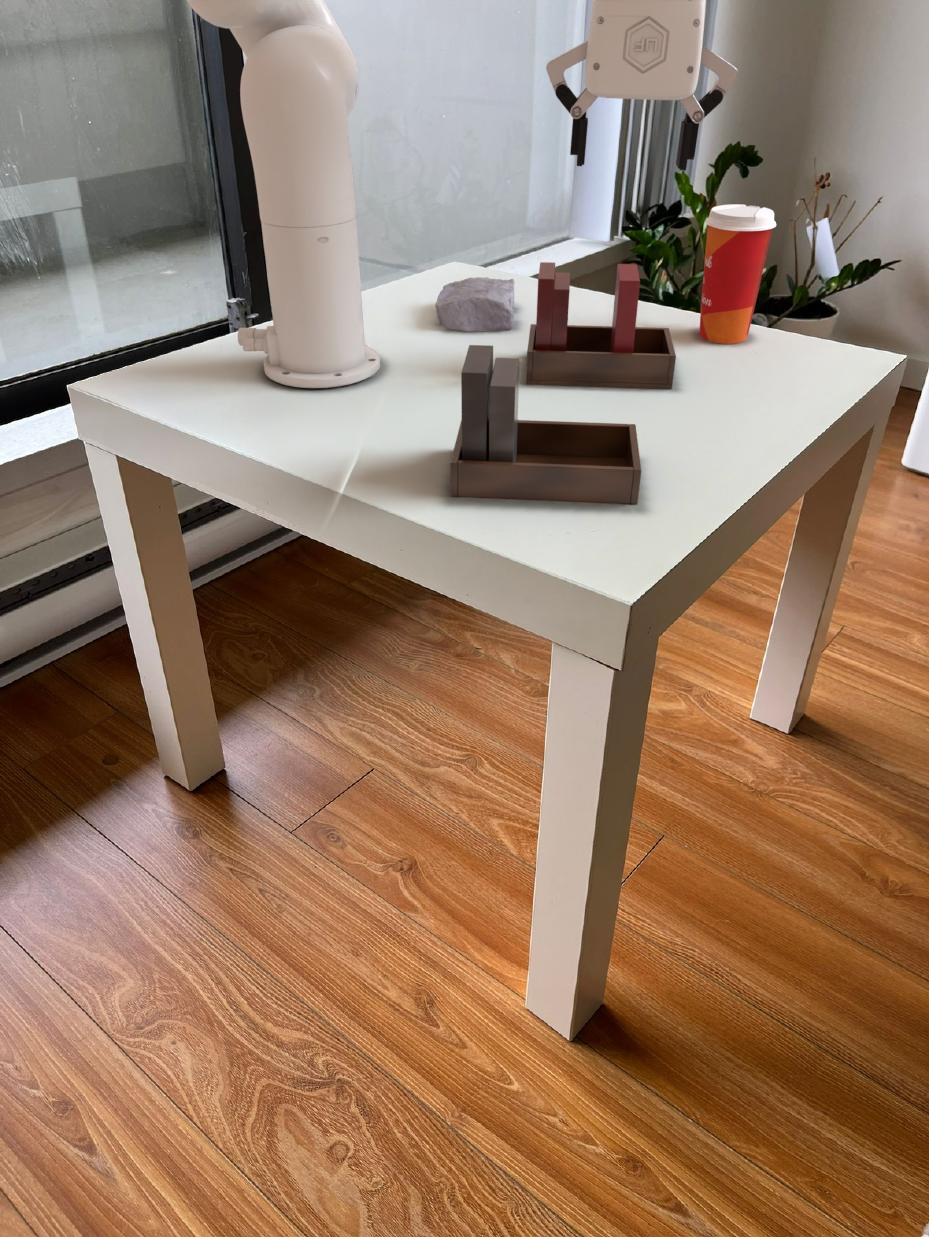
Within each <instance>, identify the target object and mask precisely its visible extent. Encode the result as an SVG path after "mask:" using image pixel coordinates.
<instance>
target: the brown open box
mask: <svg viewBox="0 0 929 1237" xmlns="http://www.w3.org/2000/svg"><path fill="white" fill-rule="evenodd" d="M570 285H571V273H570V272H559V271H558V272H556V262H549V261H548V262H547V261H541V262H540V263H539V269H538V276H537V298H536V320H535V321H536V322H535V323H536V324H534V323H531V324H530V328H529V333H528V334H529V335H528V342H527V351H526V374H525V378H526V379H525V384H526V385H537V386H538V385H541V386H568V387H569V386H570V387H571V386H573V387H598V388H599V387H602V388H631V389H632V388H633V389H634V388H636V389H660V390H661V389H662V390H672V389H673V384H674V383H673V382H674V376H675V368H676V360H677V355H676V351H675V347H674V343H673V340H672V336H671V331H670V328H669V327H653V326H652V327H651V326H650V327H649V326H646V327H645V326H636V327H635V337H634V347H633V353H612V352H610V345H611V334H612V325H611V326H609V325H579V324H578V325H575V324H574V325H573V324H569V307H570V289H571V286H570Z"/></svg>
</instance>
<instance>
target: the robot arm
mask: <svg viewBox="0 0 929 1237" xmlns="http://www.w3.org/2000/svg"><path fill="white" fill-rule="evenodd" d="M592 1H593V2H592V5H591V12H590V20H589V28H588V37H587V40H586V41H583V42H582V43H580V44H578V45H576V46H575V47H573V48H570V49H569V50H567V51H566V52H563V53H561V54H560V55H558V56H556V57H554V58H553V59H551V60H549V61H548V62H547V63H546V67H545V71H546V72H547V75H548V78H549V81H550V83H551V86H552V88H553V92H554V93H555V96H556V98H557V99H558V101H559V102H560V103H561V104H562V106H563V107H564V108H565V109H566V111H567V112H568V113H569V114H570V116H571V117H572V124H571V138H570V149H569V150H570V152H569V155H570V156H576V167H583V166H584V165H585V163H586V162H585V161H586V150H587V149H586V148H587V137H588V136H587V135H588V127H589V126H588V125H589V117H587V111H588V110H589V109H590V107H592V105H593V104H594V103H595V102H596V100H597V99H598V98H604V99H619V100H620V99H621V100H645V101H646V100H648V101H679V102H680V104H681V106H682V108H683V109H684V111H685V112H686V113H685V116H684V118H683V120H681V124H680V132H679V138H678V146H677V152H676V160H675V165H676V167H677V169H678V170H679V171H686V170H687V166H688V161H689V160H690V161H691V160H692V161H693V160H694V159H695V156H696V148H697V142H698V135H699V129H700V124H701V123H702V122H704V119H705V118H706V117H707V116H709V114H710V113H711V112H712V111H713V110H714V109H715V108H717V107H718V106H719V105H721V103H722V102H723V100H724V98H725V96H726V94H727V93H728V91H729V90H730V88H731V87H732V85H733V84H734V82H735V80H736V79H737V77H738V75H739V71H738V69H737V68H736V67H735V66H734V65H732V64H731V63H729V62H728V61H727V60H725V59H723V58H722V57H721V56H719V55H718V54H716V53H715V52H713V51H712V50H710V48H708V47H707V46H705V45H703V41H704V30H705V19H706V5H707V4H706V3H707V0H592ZM186 2H187V3H188V4H189V6H190V7H191V9H192V10H193V12H195V13H196V14H197V15H198V16H199V17H200V18H201V19H202V20H204V21H206V22H207V23H209V24H211V25H213V26H215V27H218V28H222V29H228V30H229V31H230V32H231V34H232V35H233V37H234V39H235V40H236V42H237V44H238V45H239V47H240V48H241V50H242V52H243V53H244V55H245V57H246V60H245V62H244V66H243V68H242V72H241V77H240V87H239V88H240V89H239V92H240V108H241V113H242V115H241V116H242V120H243V125H244V130H245V134H246V139H247V143H248V148H249V152H250V157H251V162H252V168H253V173H254V175H253V176H254V181H255V187H256V195H257V202H258V204H257V205H258V211H259V219H260V224H261V225H260V226H261V232H262V240H263V250H264V256H265V258H264V259H265V265H266V273H267V274H266V275H267V281H268V290H269V300H270V307H271V314H272V322H273V324H272V325H267V326H266V328H265V329H263V328H262V329H261V328H256V327H239V328H238V330H237V341H238V345H239V346H240V347H242V350H243V351H244V352H255V353H256V352H264V354H265V355H266V357H265V358H264V360H263V370H264V373H265V376H266V377H267V378H269V379H270V380H271V381H273V382H275V383H278V384H281V385H283V386H288V387H294V388H301V389H328V388H337V387H343V386H349V385H352V384H357V383H359V382H362V381H364V380H367V379H368V378H371V377H372V376H374V375H375V374H376V373H377V372H378V371H379V369H380V368H381V357H380V353H379V352H378V350H376V349H374V348H373V347H371V346H369V345H367V344H366V341H365V327H364V324H365V323H364V312H363V311H364V310H363V309H364V308H363V297H362V296H363V295H362V294H363V293H362V281H361V280H362V279H361V265H360V250H359V235H358V220H357V211H356V209H357V208H356V195H355V194H356V193H355V183H354V182H355V181H354V172H353V162H352V154H351V146H350V145H351V144H350V136H349V126H348V125H349V123H348V117H350V114H351V113H352V112H353V110H354V107H355V105H356V103H357V100H358V95H359V88H360V86H359V85H360V78H359V77H360V76H359V69H358V66H357V62H356V59H355V56H354V54H353V51H352V50H351V47H350V45H349V43H348V41H347V40H346V38H345V36H344V34H343V32H342V31H341V29H340V27H339V25H338V23H337V22H336V19H335V18H334V16H333V14H332V12H331V11H330V9H329V7H328V5H327V4H326V1H325V0H186ZM584 60H585V65H584V85H585V87H584V89H583V90H582V91H581V92H580V94H579V95H578V96H577V95H575V93H574V92H573V91H572V90H571V89H570V87H569V86H568V83H567V80H566V79H565V74H564V73H565V72H566V70H568V69H569V68H571V67H573V66H575V65H577V64H579V63H581V62H582V61H584ZM701 65H703V66H704V67H706V68H707V69H709V70H710V71H712V72H713V73H714V74H715V75H716V81H715V83H714V84H713V86H712V87H711V89H710V90H709V91H708V92H707V93H706V94H705V95H704V96H702V97H701V98H700V99H699V100H697V97H695V94H694V93H695V92H696V90H697V87H698V82H699V77H700V76H699V75H700V69H701Z"/></svg>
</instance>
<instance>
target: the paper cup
mask: <svg viewBox="0 0 929 1237" xmlns="http://www.w3.org/2000/svg"><path fill="white" fill-rule="evenodd" d="M704 223H705V224H706V225H707V229H706V240H705V252H704V265H703V278H702V288H701V290H702V292H701V304H700V315H699V316H700V317H699V337H700V338H701V339H703V340H704V341H706V342H710V343H714V344H722V345H733V344H735V345H736V344H740V343H744V342H746V340H747V338H748V336H749V332H750V329H751V325H752V320H753V318H754V317H753V316H754V312H755V309H756V308H755V307H756V303H757V299H758V296H759V295H758V294H759V290H760V287H761V281H762V277H763V273H764V268H765V263H766V259H767V257H768V256H767V255H768V251H769V247H770V242H771V238H772V233H773V229H774V228H776V227H777V223H776V220H775V211H774V210H773V209H771V208H769V207H764V206H763V207H760V206H758V205H751V204H750V205H747V204H738V203H737V204H736V203H735V204H722V205H716V206H713V207H712V208H711V209H710V212H709V215H708V216H707V218H706V219H705V220H704Z"/></svg>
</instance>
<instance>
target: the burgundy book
mask: <svg viewBox="0 0 929 1237" xmlns="http://www.w3.org/2000/svg"><path fill="white" fill-rule="evenodd" d="M640 279H641V278H640V273H639V269H638V264H637V263H617V267H616V276H615V287H614V288H615V289H614V300H613V311H612V325H611V326H612V334H611V345H610V352H612V353H633V347H634V337H635V327H637V318H638V305H639V295H640V287H641V280H640Z"/></svg>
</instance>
